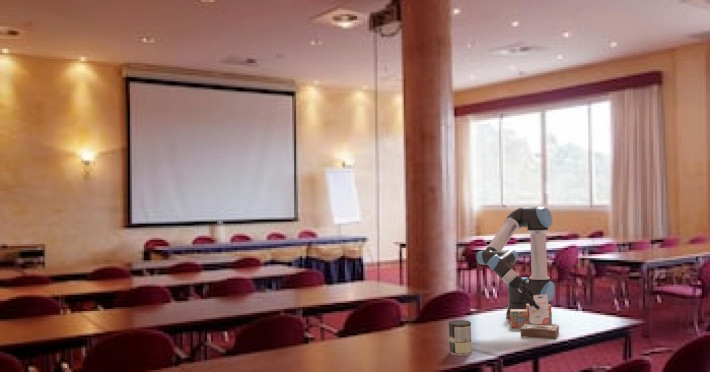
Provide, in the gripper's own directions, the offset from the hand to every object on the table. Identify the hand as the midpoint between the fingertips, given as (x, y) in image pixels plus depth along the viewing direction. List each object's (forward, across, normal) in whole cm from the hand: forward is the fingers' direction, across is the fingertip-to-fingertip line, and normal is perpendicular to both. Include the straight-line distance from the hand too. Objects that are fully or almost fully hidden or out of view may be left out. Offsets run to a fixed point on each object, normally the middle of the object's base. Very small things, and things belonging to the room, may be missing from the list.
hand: (545, 311), depth 323 cm
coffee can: (-14, +47, -31) cm, 58 cm away
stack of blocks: (+1, -19, -16) cm, 25 cm away
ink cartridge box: (+2, 0, -7) cm, 7 cm away
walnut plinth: (+6, 0, -11) cm, 12 cm away
